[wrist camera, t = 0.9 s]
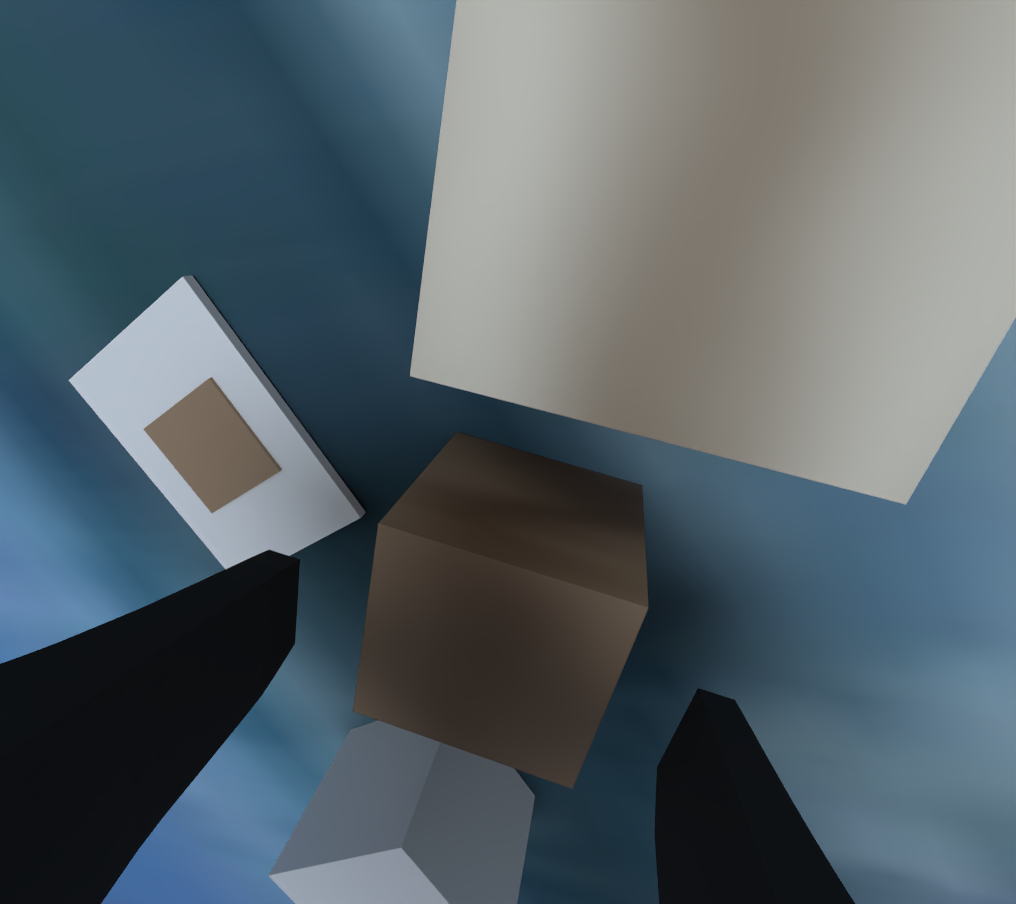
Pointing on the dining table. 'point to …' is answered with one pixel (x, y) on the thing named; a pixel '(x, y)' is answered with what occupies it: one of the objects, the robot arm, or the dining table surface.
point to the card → (214, 431)
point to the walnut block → (504, 605)
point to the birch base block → (729, 222)
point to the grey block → (408, 826)
